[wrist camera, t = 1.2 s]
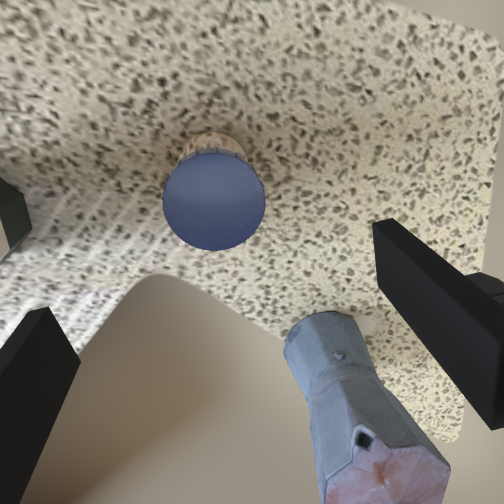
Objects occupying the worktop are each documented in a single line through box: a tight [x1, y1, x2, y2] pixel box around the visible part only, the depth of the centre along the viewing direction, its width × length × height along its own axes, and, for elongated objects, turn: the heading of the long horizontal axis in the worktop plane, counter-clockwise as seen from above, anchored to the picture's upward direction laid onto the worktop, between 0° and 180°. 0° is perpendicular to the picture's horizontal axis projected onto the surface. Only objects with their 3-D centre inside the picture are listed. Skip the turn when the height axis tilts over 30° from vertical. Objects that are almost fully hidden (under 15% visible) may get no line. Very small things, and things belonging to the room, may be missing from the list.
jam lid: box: [162, 147, 265, 251], centre depth 24 cm, size 6×6×2 cm
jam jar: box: [176, 132, 249, 164], centre depth 28 cm, size 6×6×9 cm
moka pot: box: [284, 312, 451, 504], centre depth 33 cm, size 10×15×20 cm, turn 27°
